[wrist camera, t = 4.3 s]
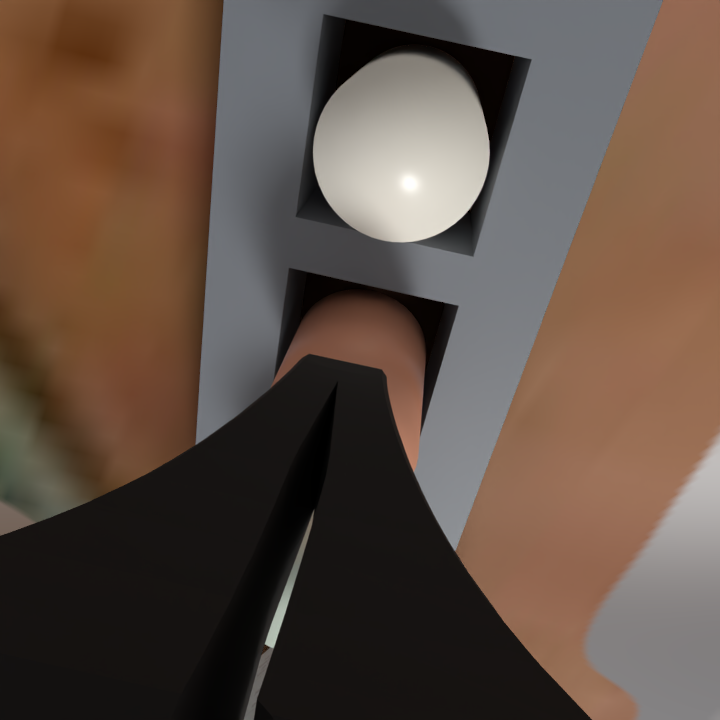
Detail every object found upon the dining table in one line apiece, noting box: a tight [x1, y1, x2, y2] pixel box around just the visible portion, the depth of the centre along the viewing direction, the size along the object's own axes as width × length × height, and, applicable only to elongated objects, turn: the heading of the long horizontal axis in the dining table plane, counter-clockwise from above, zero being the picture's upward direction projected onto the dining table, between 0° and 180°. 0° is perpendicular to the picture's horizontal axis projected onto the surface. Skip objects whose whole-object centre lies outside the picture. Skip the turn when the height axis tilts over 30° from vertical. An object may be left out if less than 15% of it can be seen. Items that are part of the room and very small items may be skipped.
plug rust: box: [271, 289, 426, 472], centre depth 17 cm, size 4×4×5 cm
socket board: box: [196, 0, 663, 551], centre depth 20 cm, size 9×21×4 cm, turn 170°
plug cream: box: [313, 44, 490, 242], centre depth 16 cm, size 4×4×5 cm
